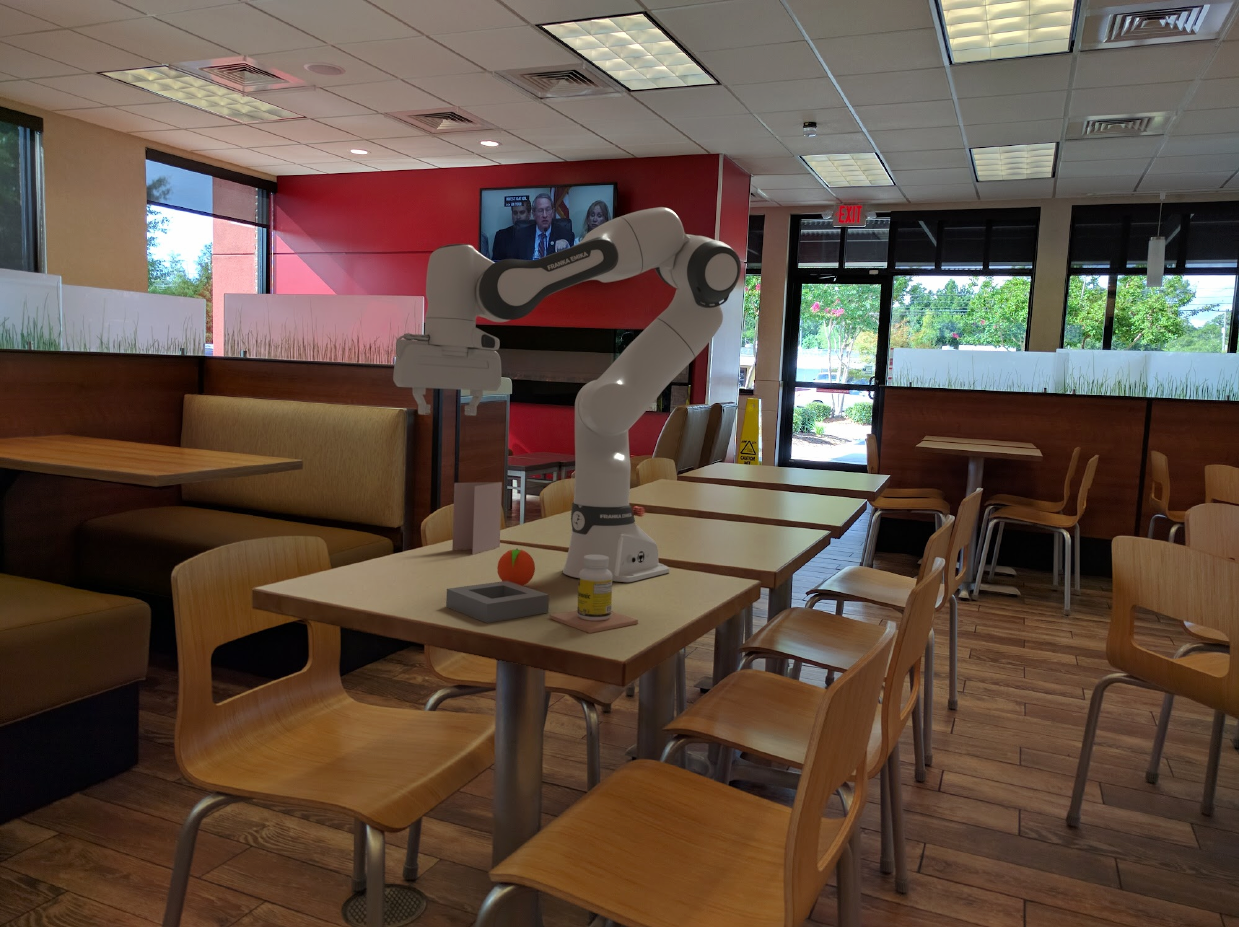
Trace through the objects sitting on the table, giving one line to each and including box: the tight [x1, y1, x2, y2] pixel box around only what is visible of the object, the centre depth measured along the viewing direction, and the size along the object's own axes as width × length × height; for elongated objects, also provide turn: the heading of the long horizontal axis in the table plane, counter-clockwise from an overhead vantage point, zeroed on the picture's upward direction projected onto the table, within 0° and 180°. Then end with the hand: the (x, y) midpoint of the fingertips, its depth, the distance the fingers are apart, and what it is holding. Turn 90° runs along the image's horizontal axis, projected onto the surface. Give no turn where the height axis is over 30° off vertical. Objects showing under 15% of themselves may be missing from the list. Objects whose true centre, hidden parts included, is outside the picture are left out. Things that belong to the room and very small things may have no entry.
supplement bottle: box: [576, 555, 613, 621], centre depth 139 cm, size 5×5×10 cm
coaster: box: [549, 609, 639, 634], centre depth 139 cm, size 10×10×1 cm
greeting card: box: [451, 481, 503, 556], centre depth 194 cm, size 11×7×15 cm, turn 122°
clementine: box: [496, 548, 536, 586], centre depth 160 cm, size 8×7×7 cm
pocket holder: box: [445, 580, 550, 624], centre depth 143 cm, size 12×12×3 cm
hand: (447, 415), depth 156 cm, fingers open, 8 cm apart
